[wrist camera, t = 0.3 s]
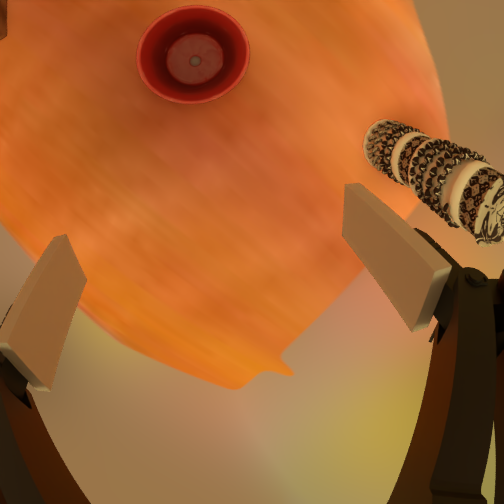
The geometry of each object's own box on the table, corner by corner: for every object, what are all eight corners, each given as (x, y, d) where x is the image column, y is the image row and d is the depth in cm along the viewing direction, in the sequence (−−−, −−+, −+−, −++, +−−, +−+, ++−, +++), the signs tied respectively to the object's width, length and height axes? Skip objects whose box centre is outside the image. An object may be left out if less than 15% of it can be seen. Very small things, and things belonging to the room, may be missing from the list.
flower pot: (206, 114, 35) (208, 125, 27) (136, 75, 30) (115, 74, 22) (255, 50, 31) (272, 41, 23) (183, 9, 26) (178, -13, 18)
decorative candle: (406, 168, 43) (517, 248, 23) (361, 175, 43) (471, 269, 22) (407, 116, 38) (537, 174, 17) (359, 118, 38) (494, 181, 17)
